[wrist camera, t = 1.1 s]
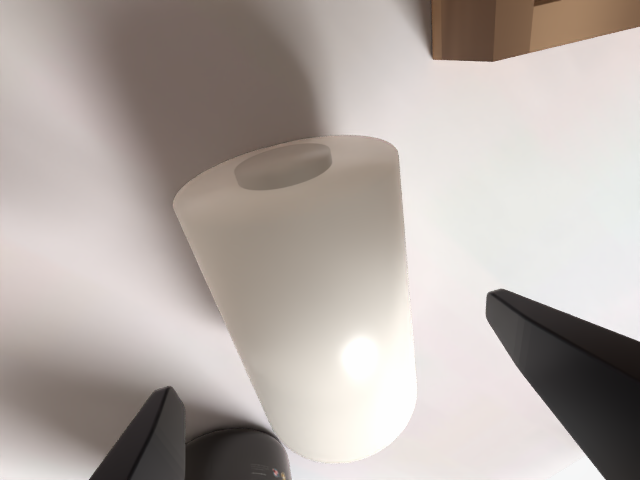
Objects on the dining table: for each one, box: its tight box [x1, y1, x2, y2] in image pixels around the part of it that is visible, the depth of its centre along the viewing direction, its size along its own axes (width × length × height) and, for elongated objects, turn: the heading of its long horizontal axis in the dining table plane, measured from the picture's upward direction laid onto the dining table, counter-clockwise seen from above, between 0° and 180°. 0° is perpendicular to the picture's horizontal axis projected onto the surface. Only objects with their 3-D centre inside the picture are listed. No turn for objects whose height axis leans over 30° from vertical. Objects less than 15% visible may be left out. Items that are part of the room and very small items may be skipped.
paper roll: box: [173, 135, 417, 464], centre depth 12 cm, size 10×6×6 cm, turn 10°
